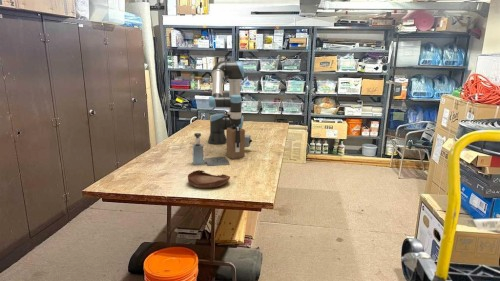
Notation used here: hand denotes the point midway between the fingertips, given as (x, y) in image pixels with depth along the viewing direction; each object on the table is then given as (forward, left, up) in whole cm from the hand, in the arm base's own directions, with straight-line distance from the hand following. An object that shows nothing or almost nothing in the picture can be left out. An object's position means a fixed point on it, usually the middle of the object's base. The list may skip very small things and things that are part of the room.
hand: (235, 149), depth 232 cm
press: (+10, -19, -5) cm, 22 cm away
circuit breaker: (-16, +9, -5) cm, 19 cm away
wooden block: (0, 0, -5) cm, 5 cm away
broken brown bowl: (+48, -26, -6) cm, 55 cm away
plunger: (+10, -27, +5) cm, 29 cm away
